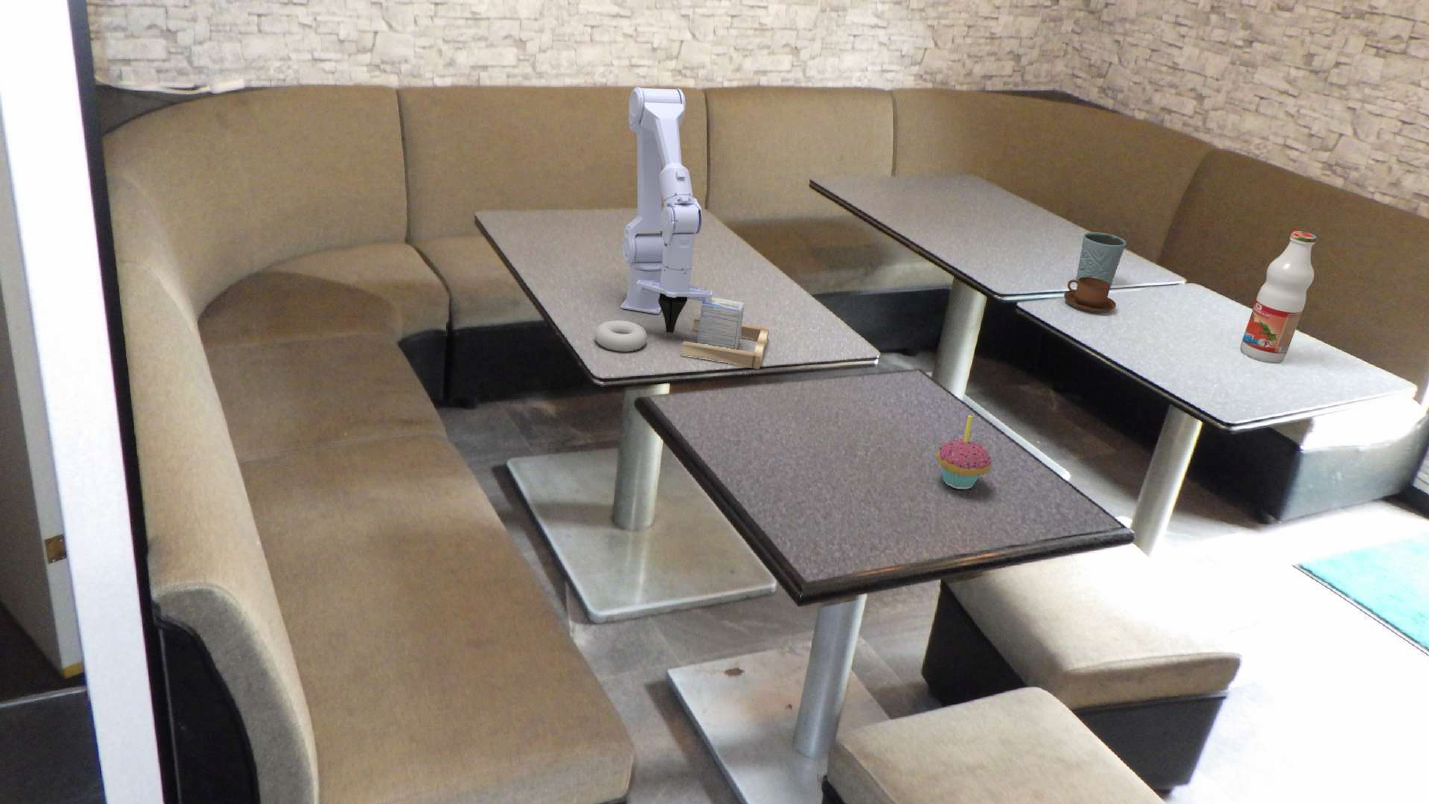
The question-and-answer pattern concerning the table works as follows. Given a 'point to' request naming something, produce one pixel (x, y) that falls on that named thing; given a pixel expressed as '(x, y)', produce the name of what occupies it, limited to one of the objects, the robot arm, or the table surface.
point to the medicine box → (720, 323)
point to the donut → (621, 336)
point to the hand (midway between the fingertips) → (670, 330)
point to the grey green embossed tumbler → (1100, 256)
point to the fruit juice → (1280, 301)
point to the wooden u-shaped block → (730, 354)
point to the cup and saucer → (1090, 295)
